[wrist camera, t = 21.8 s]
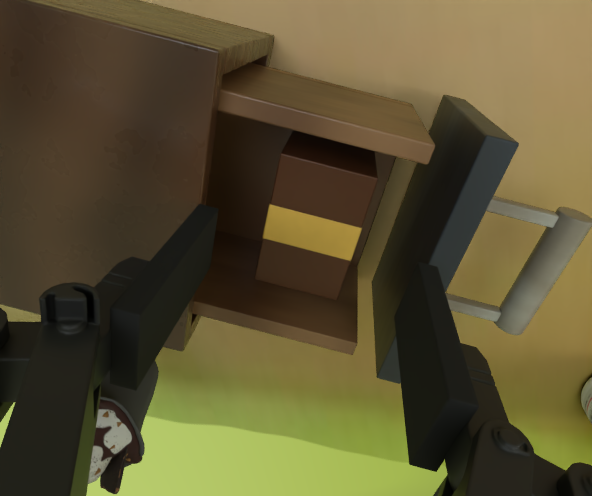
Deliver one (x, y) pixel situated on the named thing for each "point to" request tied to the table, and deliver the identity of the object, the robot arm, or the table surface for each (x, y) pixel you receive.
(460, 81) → the table surface
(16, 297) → the cabinet
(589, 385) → the pill bottle
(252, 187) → the drawer
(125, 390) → the sundae
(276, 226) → the chocolate
